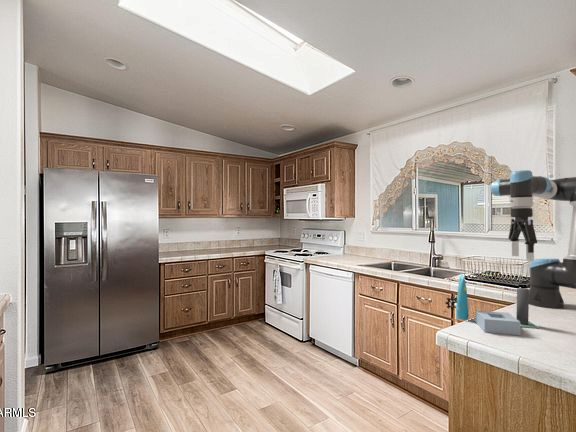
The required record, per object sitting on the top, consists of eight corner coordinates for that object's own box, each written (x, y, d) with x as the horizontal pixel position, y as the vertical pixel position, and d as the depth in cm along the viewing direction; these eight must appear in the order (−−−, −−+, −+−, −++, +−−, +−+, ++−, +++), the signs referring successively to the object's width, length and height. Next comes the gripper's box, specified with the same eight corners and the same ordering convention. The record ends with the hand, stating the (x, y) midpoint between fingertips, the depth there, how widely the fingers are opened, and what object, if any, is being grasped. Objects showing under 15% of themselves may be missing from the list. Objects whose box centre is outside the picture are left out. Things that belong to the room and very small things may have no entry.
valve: (473, 317, 143) (458, 309, 155) (474, 302, 143) (458, 295, 155) (459, 317, 143) (444, 309, 155) (459, 302, 143) (444, 296, 155)
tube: (471, 321, 137) (471, 276, 137) (458, 320, 138) (458, 276, 138) (465, 316, 144) (465, 273, 144) (453, 315, 145) (453, 273, 145)
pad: (529, 322, 136) (529, 321, 136) (538, 328, 129) (538, 327, 129) (507, 320, 138) (507, 319, 138) (515, 326, 131) (515, 325, 131)
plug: (525, 322, 135) (526, 288, 135) (530, 325, 131) (530, 290, 131) (514, 321, 136) (515, 288, 136) (518, 324, 132) (519, 289, 132)
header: (507, 324, 133) (507, 312, 133) (520, 335, 122) (520, 321, 122) (475, 322, 136) (475, 310, 136) (484, 332, 125) (484, 319, 125)
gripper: (499, 208, 148) (500, 254, 149) (524, 207, 124) (525, 262, 124) (518, 207, 147) (518, 254, 147) (547, 207, 122) (548, 263, 123)
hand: (521, 258), depth 136 cm, fingers open, 13 cm apart
